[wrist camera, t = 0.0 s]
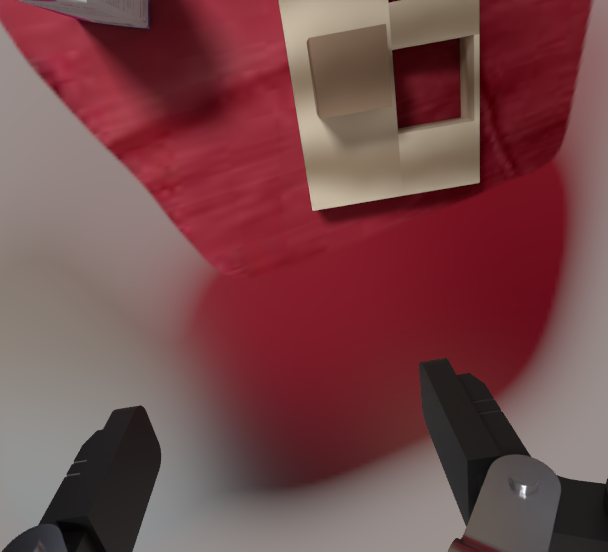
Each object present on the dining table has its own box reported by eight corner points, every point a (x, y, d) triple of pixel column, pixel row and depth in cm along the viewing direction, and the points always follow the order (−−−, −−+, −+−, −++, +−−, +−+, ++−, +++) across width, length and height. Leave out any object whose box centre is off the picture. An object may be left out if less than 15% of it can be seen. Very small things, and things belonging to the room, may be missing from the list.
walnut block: (306, 42, 32) (308, 37, 29) (375, 29, 32) (386, 23, 29) (316, 114, 34) (320, 118, 31) (381, 102, 34) (392, 106, 31)
